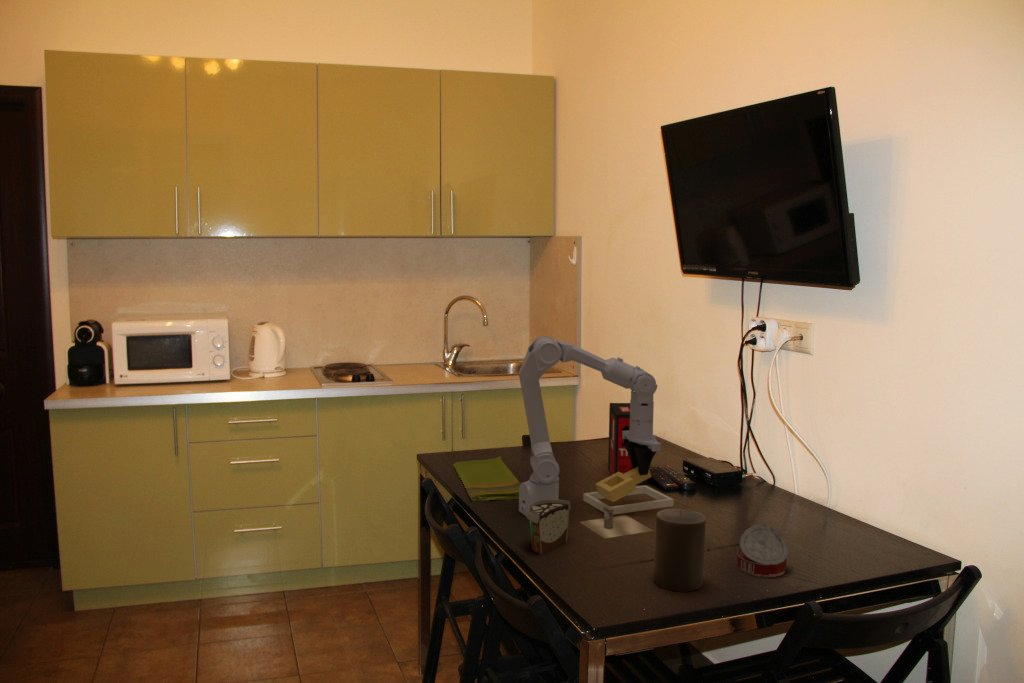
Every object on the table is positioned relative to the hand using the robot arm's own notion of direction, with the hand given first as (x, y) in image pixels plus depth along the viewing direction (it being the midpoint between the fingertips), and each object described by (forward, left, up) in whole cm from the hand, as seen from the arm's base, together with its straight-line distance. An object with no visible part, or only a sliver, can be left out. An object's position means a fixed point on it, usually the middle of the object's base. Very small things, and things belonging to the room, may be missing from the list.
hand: (640, 473), depth 207 cm
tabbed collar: (-4, 0, -3) cm, 5 cm away
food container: (-33, -12, -10) cm, 36 cm away
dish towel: (-25, +40, -11) cm, 48 cm away
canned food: (+4, -40, -11) cm, 42 cm away
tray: (0, +6, -10) cm, 12 cm away
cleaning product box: (+14, +29, -10) cm, 34 cm away
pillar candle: (-16, -39, -10) cm, 43 cm away
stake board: (-12, -8, -10) cm, 17 cm away
